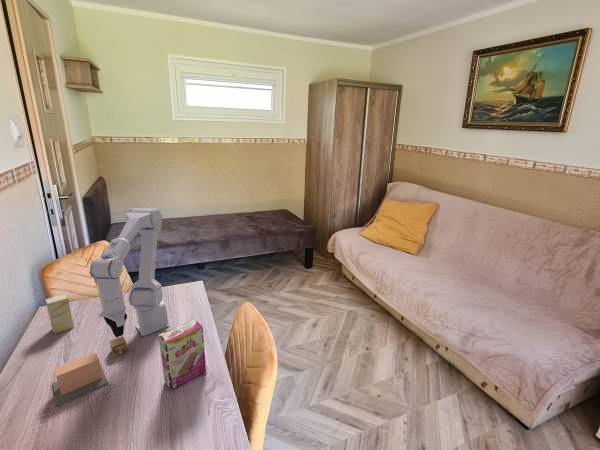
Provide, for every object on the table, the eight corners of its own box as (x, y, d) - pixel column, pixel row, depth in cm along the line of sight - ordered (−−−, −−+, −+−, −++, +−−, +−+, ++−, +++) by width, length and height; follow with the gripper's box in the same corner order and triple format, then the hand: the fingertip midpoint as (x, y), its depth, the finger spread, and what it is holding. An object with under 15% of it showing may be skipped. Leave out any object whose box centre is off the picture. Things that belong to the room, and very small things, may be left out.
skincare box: (54, 334, 115) (46, 304, 111) (52, 328, 118) (44, 299, 114) (75, 327, 119) (68, 297, 115) (72, 321, 122) (65, 293, 118)
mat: (100, 364, 101) (100, 363, 100) (108, 383, 93) (108, 382, 93) (53, 384, 93) (52, 383, 93) (57, 406, 86) (57, 405, 86)
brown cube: (124, 346, 109) (122, 336, 108) (127, 352, 106) (126, 342, 105) (111, 351, 107) (109, 340, 106) (114, 357, 104) (112, 347, 102)
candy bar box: (171, 392, 91) (164, 343, 86) (164, 382, 94) (156, 334, 89) (207, 371, 98) (203, 325, 93) (199, 363, 102) (194, 318, 97)
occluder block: (99, 370, 98) (95, 352, 96) (102, 377, 95) (98, 359, 93) (59, 386, 91) (54, 368, 90) (61, 395, 89) (56, 376, 87)
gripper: (90, 291, 98) (99, 329, 102) (101, 311, 88) (110, 353, 92) (116, 283, 103) (123, 320, 107) (129, 302, 92) (136, 342, 96)
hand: (119, 335), depth 100 cm, fingers closed
